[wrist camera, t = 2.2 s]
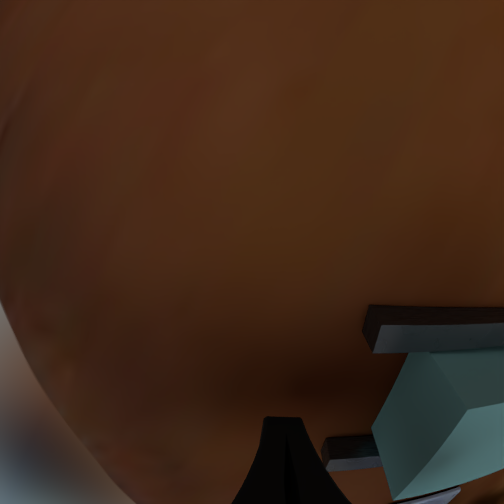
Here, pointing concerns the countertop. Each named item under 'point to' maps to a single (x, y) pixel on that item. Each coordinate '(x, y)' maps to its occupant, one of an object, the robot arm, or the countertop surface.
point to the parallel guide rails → (407, 341)
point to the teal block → (443, 421)
